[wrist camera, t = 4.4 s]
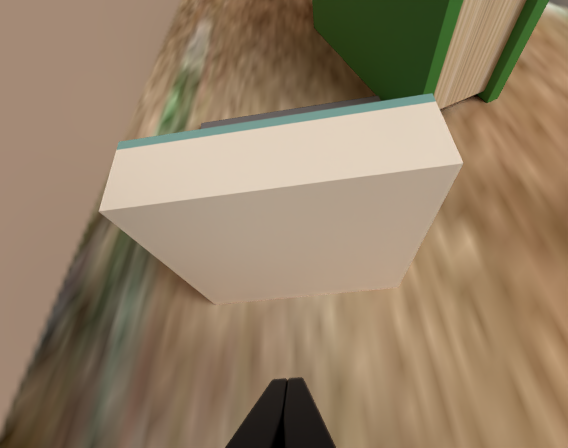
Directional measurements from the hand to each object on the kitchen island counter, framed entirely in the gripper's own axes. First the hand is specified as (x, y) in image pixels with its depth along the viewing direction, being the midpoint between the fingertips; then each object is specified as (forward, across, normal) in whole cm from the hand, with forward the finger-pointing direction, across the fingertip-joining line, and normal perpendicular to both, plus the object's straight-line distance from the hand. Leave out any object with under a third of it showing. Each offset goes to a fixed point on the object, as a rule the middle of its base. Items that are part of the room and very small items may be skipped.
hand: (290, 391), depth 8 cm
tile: (+11, 0, +2) cm, 11 cm away
